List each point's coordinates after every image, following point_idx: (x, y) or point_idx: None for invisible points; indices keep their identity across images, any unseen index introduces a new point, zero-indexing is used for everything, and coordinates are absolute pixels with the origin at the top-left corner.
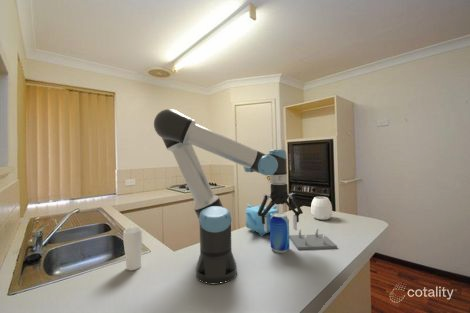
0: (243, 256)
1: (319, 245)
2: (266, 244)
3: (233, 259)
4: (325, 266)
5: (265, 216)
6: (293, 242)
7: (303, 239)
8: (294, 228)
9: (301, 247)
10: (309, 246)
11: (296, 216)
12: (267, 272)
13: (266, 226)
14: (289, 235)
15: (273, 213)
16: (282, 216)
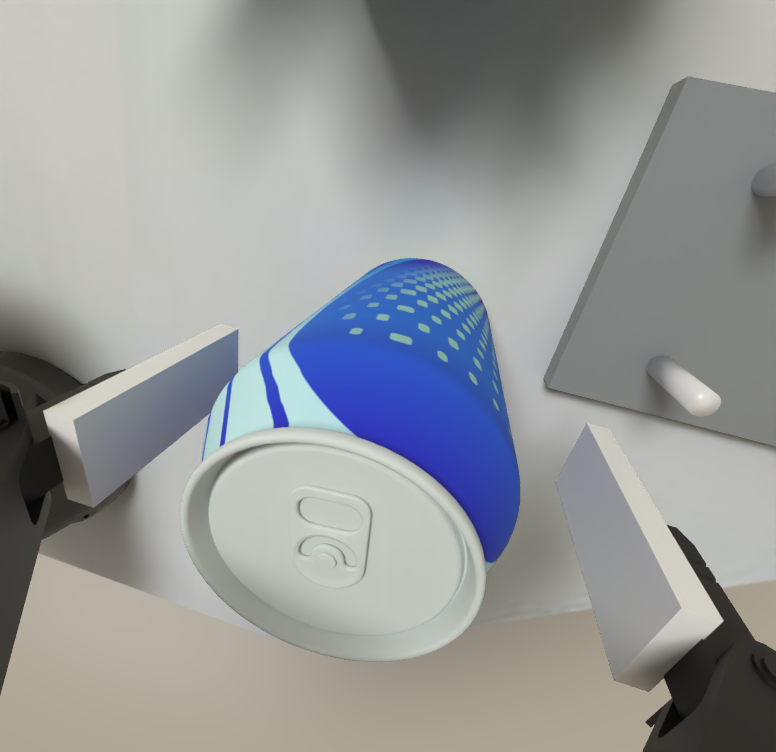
0: (157, 338)
1: (750, 423)
2: (346, 200)
3: (62, 511)
4: (547, 568)
5: (76, 466)
6: (599, 261)
7: (741, 259)
8: (571, 462)
9: (575, 394)
10: (648, 409)
11: (643, 674)
12: None
13: (196, 420)
14: (688, 82)
15: (225, 454)
16: (358, 618)
